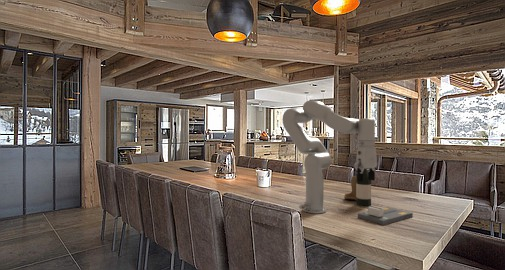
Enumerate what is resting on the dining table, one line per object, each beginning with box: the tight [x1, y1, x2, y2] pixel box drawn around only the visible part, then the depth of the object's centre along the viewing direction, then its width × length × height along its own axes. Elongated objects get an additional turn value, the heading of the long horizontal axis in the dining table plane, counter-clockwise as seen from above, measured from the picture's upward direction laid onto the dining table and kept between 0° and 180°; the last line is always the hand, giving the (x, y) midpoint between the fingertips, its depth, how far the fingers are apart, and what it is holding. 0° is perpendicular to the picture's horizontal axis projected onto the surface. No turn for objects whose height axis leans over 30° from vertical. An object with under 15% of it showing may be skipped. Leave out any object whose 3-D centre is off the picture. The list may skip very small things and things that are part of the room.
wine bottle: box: [355, 168, 372, 208], centre depth 176 cm, size 8×8×30 cm
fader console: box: [357, 206, 413, 226], centre depth 151 cm, size 25×14×2 cm, turn 123°
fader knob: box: [367, 205, 384, 217], centre depth 147 cm, size 4×6×4 cm, turn 33°
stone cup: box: [344, 175, 357, 201], centre depth 189 cm, size 15×12×15 cm
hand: (365, 180), depth 142 cm, fingers open, 7 cm apart
